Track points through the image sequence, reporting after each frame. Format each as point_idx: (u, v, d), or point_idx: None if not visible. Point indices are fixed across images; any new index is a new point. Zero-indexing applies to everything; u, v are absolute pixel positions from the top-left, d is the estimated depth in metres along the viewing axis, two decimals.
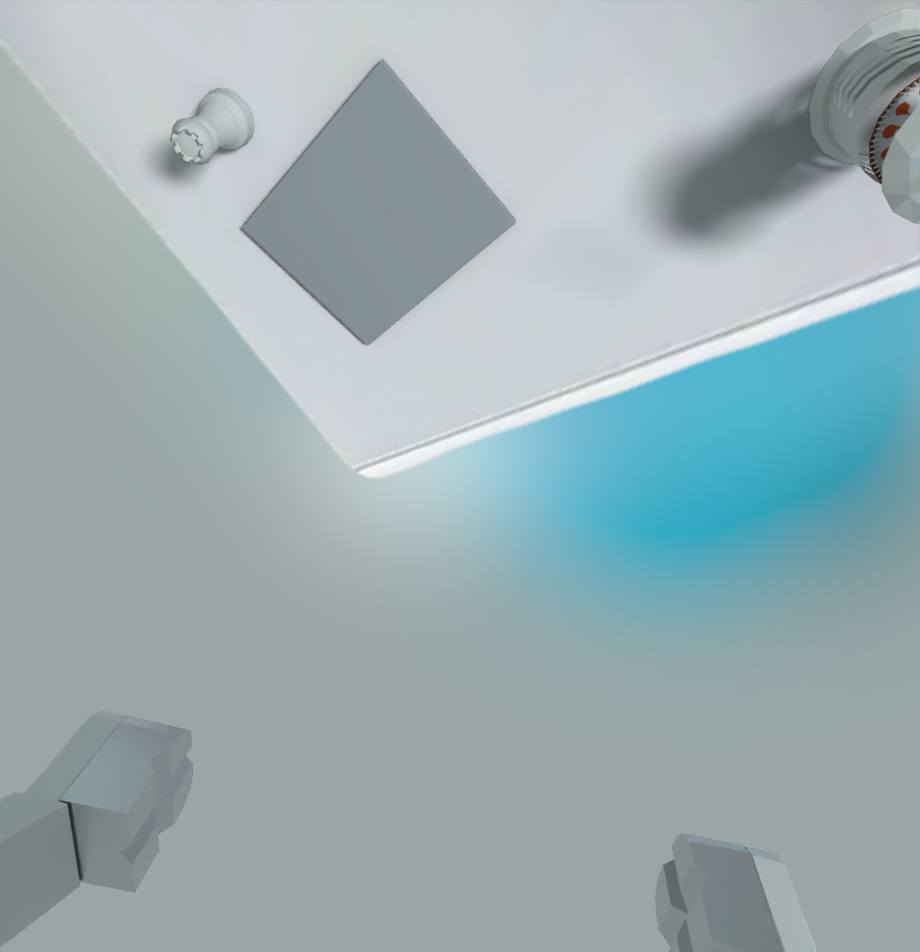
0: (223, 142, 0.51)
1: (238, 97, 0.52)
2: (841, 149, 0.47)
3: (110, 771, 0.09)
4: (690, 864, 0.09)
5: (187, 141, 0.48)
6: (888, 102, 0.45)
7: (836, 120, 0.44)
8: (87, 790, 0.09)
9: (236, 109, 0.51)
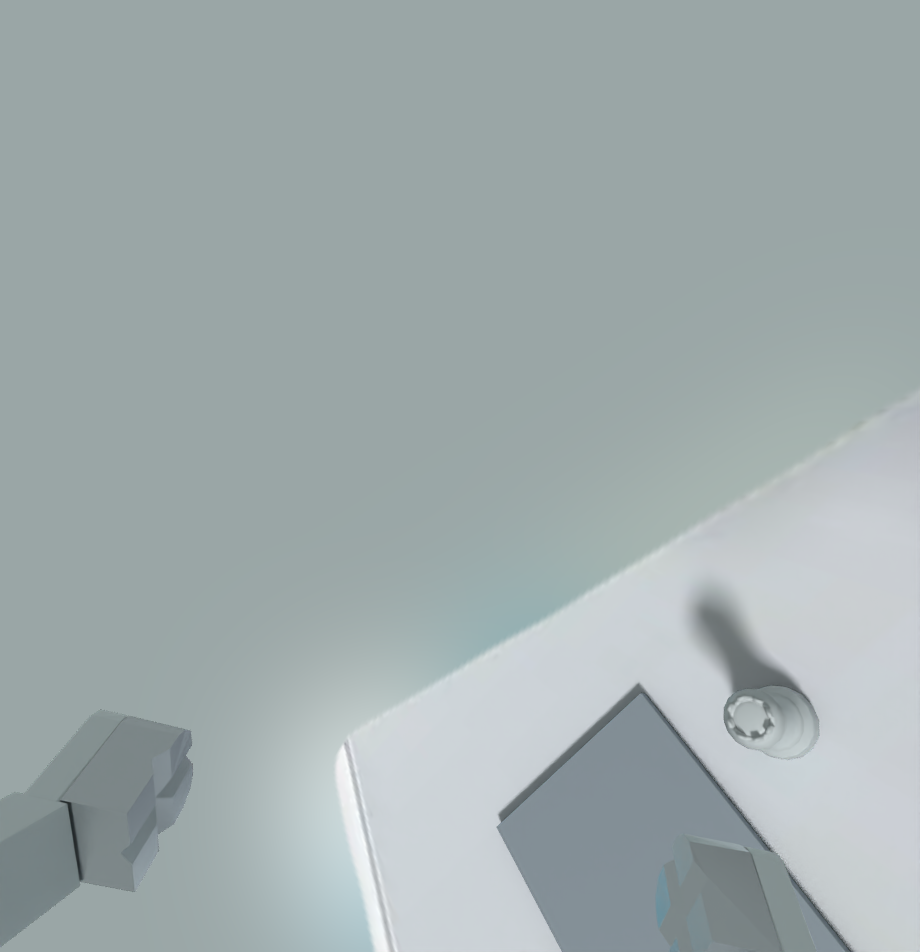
0: None
1: (809, 747, 0.39)
2: None
3: (110, 771, 0.09)
4: (690, 864, 0.09)
5: (754, 718, 0.35)
6: None
7: None
8: (87, 790, 0.09)
9: (795, 751, 0.38)
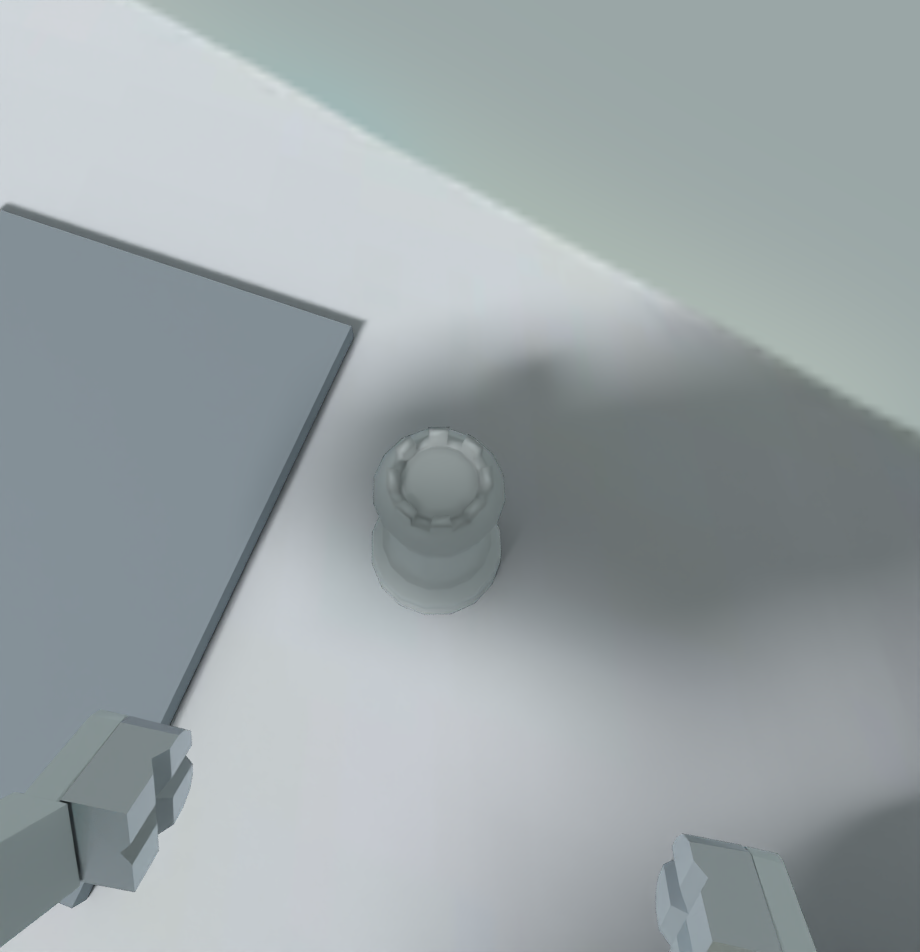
0: None
1: (422, 608, 0.21)
2: None
3: (110, 771, 0.09)
4: (690, 864, 0.09)
5: (445, 487, 0.15)
6: None
7: None
8: (87, 790, 0.09)
9: (406, 591, 0.20)
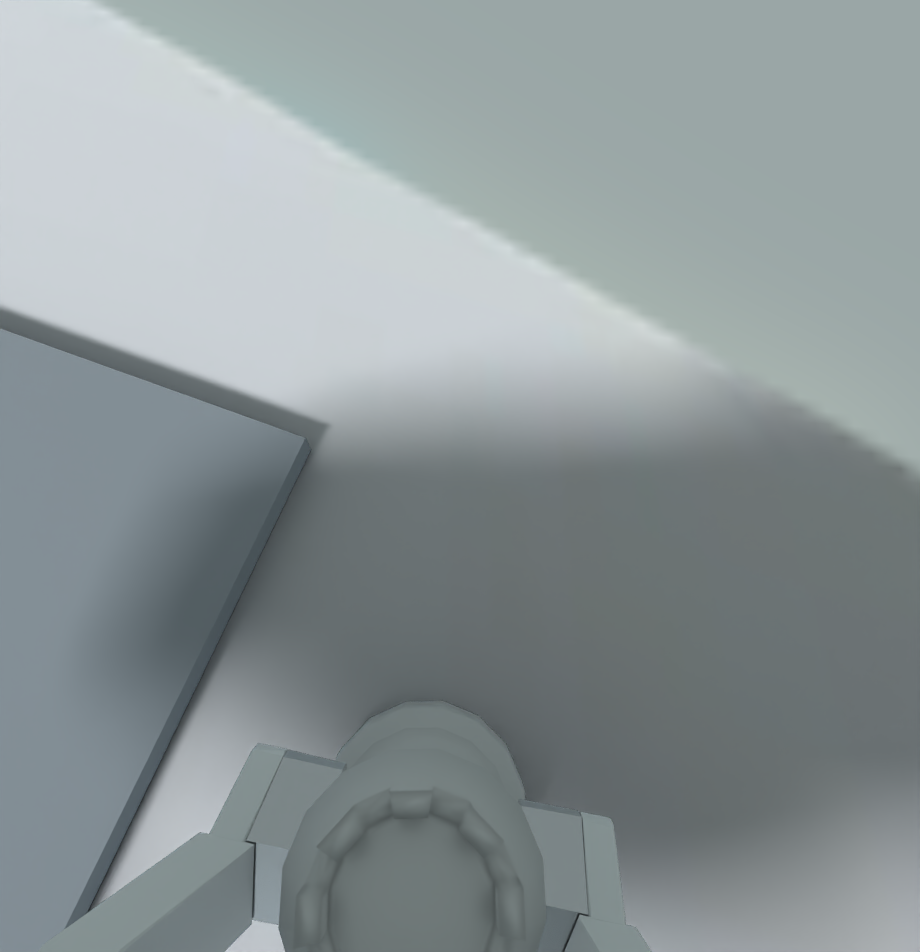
0: None
1: None
2: None
3: (286, 809, 0.09)
4: None
5: (422, 929, 0.07)
6: None
7: None
8: (269, 829, 0.09)
9: None
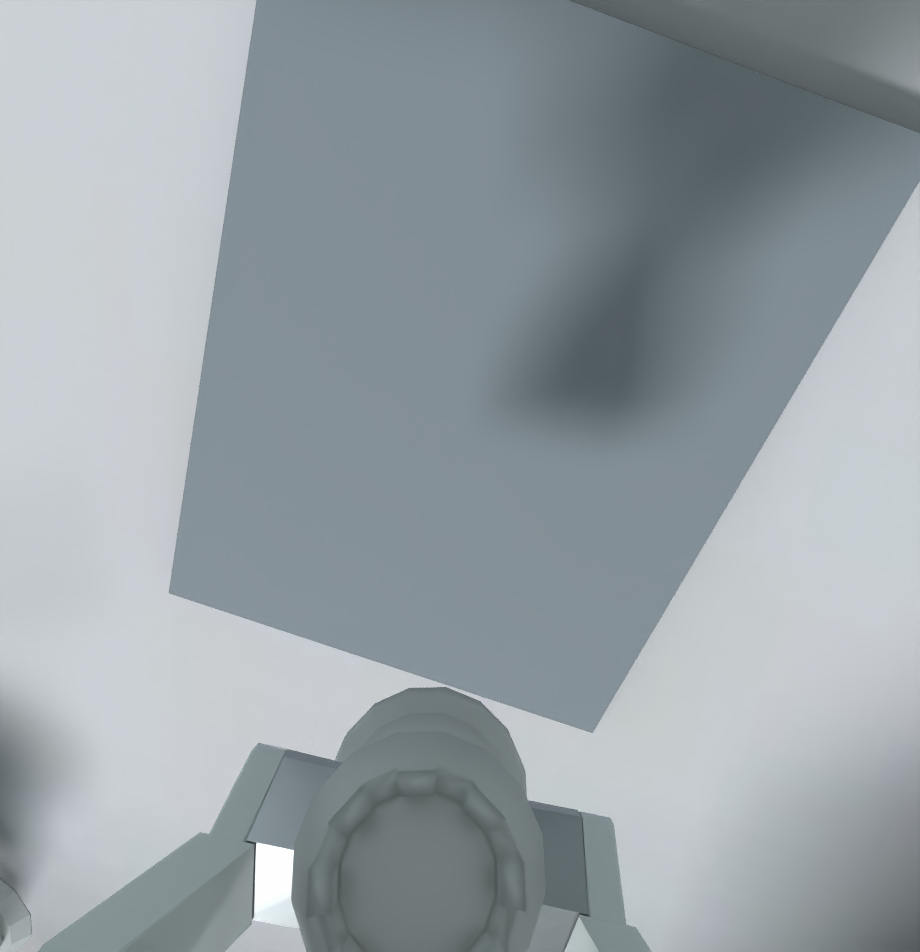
0: None
1: None
2: None
3: (286, 809, 0.09)
4: None
5: (428, 900, 0.07)
6: None
7: None
8: (269, 829, 0.09)
9: None
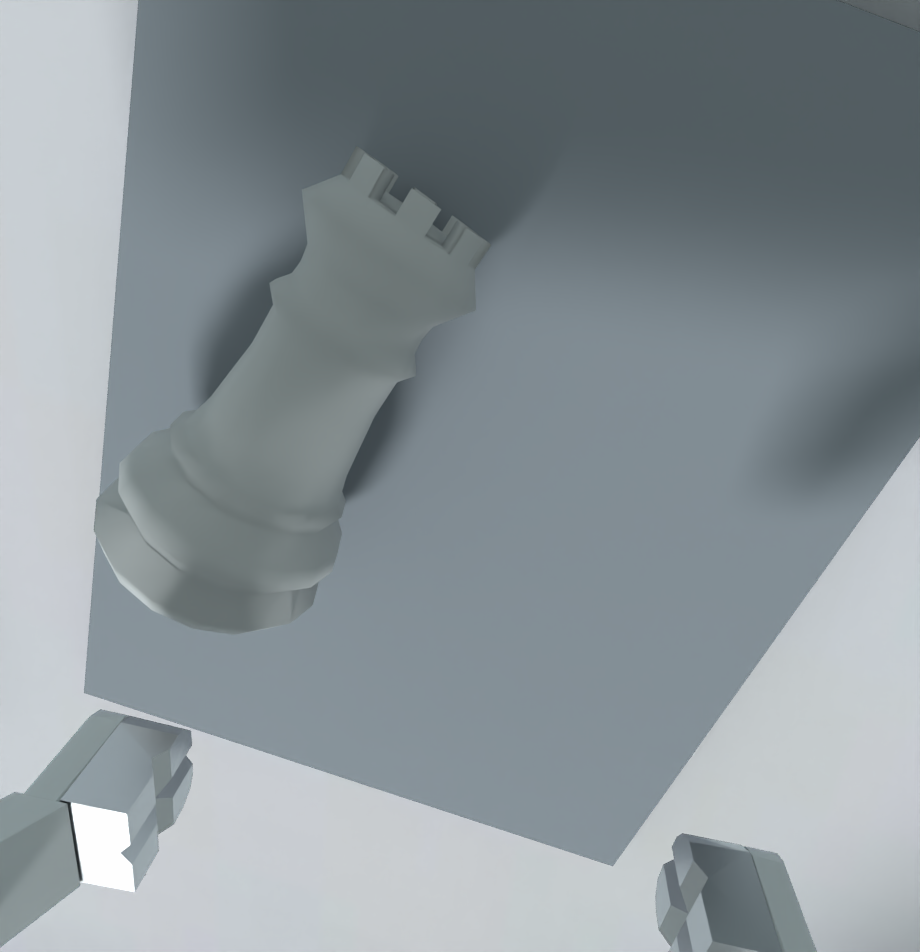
0: None
1: None
2: None
3: (110, 771, 0.09)
4: (690, 864, 0.09)
5: None
6: None
7: None
8: (87, 790, 0.09)
9: None
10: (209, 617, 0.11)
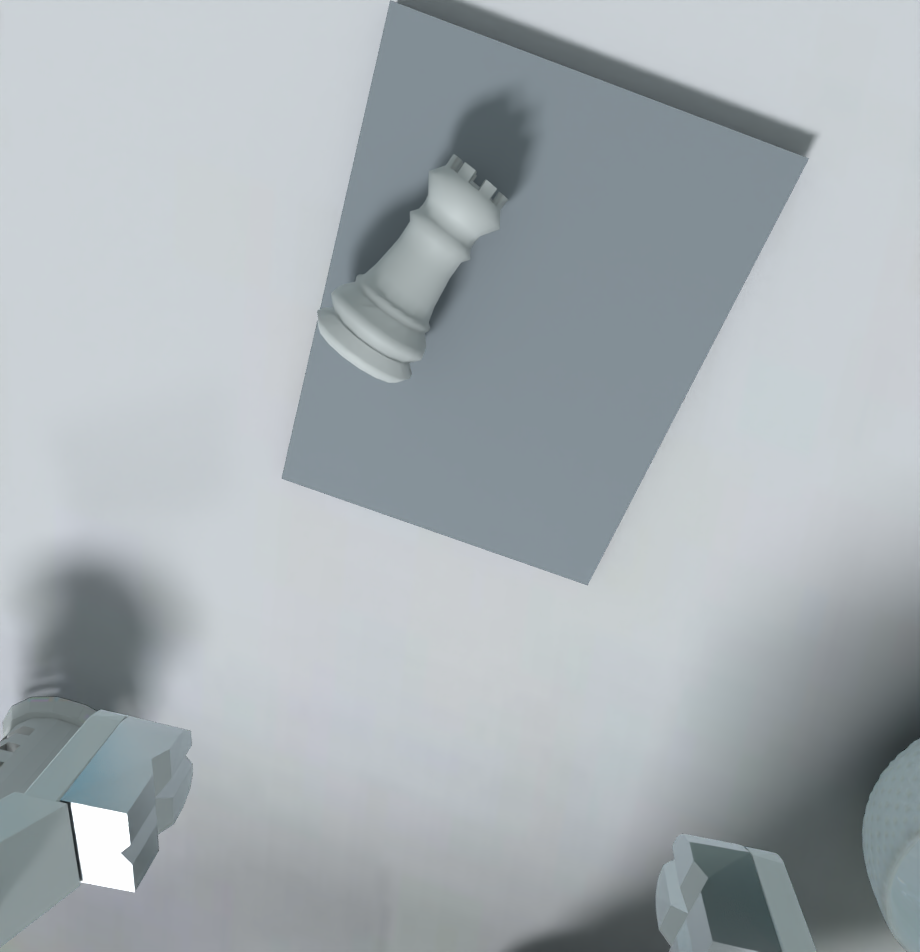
0: None
1: None
2: (44, 714, 0.40)
3: (110, 771, 0.09)
4: (690, 864, 0.09)
5: None
6: None
7: None
8: (87, 790, 0.09)
9: None
10: (349, 346, 0.23)
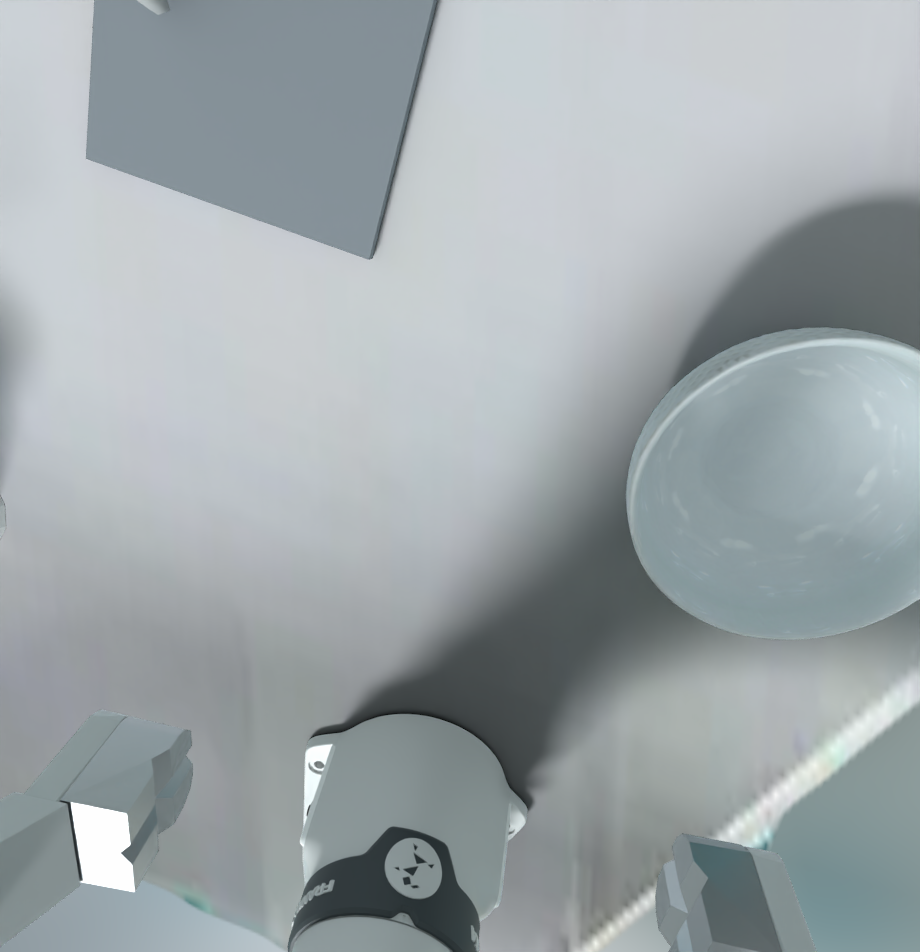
0: None
1: None
2: None
3: (110, 771, 0.09)
4: (690, 864, 0.09)
5: None
6: None
7: None
8: (87, 790, 0.09)
9: None
10: None
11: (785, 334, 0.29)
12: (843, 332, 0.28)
